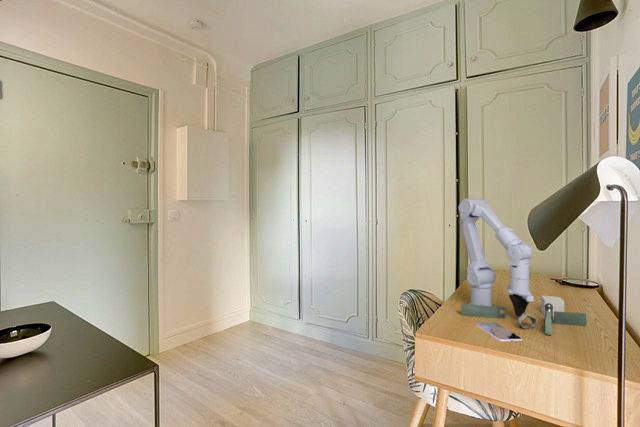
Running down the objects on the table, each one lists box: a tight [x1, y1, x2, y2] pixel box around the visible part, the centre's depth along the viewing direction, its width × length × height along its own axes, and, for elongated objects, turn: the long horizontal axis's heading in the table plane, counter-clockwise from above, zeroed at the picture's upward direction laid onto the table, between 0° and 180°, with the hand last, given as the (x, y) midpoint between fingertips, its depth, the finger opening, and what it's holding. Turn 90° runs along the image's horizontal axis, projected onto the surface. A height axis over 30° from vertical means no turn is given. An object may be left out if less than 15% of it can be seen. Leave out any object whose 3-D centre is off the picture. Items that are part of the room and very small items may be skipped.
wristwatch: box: [516, 312, 537, 330], centre depth 107 cm, size 4×6×5 cm, turn 102°
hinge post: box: [544, 303, 587, 327], centre depth 110 cm, size 2×12×7 cm, turn 74°
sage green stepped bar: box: [544, 311, 553, 336], centre depth 105 cm, size 12×2×4 cm, turn 144°
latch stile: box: [460, 303, 507, 320], centre depth 119 cm, size 1×15×4 cm, turn 74°
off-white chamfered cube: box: [540, 295, 565, 317], centre depth 121 cm, size 6×6×6 cm
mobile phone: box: [475, 321, 523, 342], centre depth 104 cm, size 8×1×15 cm
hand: (519, 316), depth 114 cm, fingers closed
